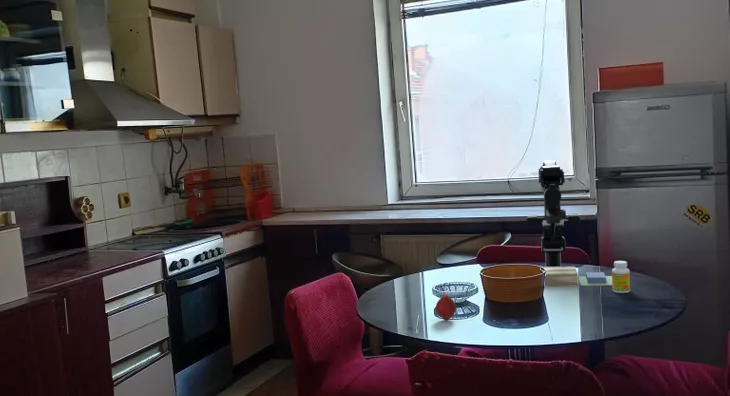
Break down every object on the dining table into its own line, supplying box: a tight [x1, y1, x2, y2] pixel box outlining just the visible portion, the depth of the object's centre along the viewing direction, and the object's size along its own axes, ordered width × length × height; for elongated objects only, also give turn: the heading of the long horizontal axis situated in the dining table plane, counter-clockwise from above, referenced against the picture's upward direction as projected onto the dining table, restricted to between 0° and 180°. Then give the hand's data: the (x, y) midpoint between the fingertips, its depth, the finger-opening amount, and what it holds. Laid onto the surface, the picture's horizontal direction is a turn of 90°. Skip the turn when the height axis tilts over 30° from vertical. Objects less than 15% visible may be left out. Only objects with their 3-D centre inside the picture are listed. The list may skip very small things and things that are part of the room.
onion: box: [435, 293, 457, 321], centre depth 206 cm, size 6×6×8 cm
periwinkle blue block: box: [585, 271, 607, 283], centre depth 242 cm, size 8×6×2 cm
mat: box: [578, 275, 612, 287], centre depth 242 cm, size 13×12×1 cm
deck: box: [541, 266, 579, 287], centre depth 245 cm, size 13×12×4 cm
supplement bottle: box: [611, 260, 631, 294], centre depth 226 cm, size 5×5×10 cm
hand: (553, 243), depth 253 cm, fingers closed
